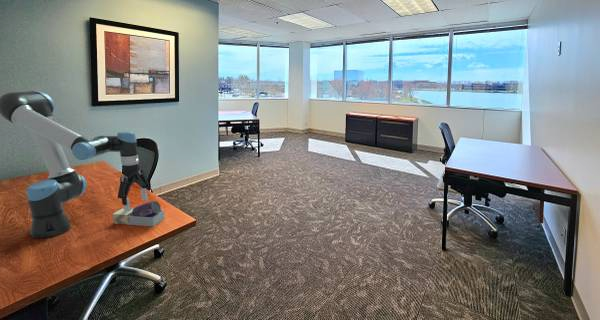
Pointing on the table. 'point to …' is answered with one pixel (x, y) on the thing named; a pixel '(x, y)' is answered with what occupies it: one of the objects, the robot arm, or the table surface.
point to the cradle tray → (147, 219)
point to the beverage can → (147, 209)
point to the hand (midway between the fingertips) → (136, 205)
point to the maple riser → (122, 216)
